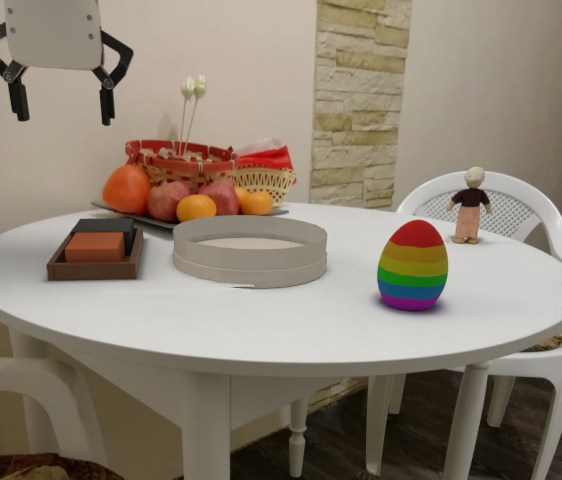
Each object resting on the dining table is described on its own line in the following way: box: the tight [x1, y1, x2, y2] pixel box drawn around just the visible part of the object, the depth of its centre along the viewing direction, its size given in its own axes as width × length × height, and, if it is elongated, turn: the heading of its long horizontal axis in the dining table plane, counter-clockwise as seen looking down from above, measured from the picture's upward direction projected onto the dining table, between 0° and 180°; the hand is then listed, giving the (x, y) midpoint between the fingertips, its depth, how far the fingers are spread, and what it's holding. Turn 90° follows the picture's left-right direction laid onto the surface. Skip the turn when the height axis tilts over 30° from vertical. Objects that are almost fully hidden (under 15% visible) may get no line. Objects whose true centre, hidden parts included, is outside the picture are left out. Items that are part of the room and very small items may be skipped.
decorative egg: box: [376, 219, 449, 312], centre depth 64 cm, size 8×8×10 cm
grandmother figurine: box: [446, 166, 493, 245], centre depth 95 cm, size 8×4×13 cm, turn 97°
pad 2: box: [65, 232, 125, 263], centre depth 73 cm, size 6×9×4 cm
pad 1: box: [70, 218, 135, 256], centre depth 82 cm, size 8×9×4 cm
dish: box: [172, 214, 328, 289], centre depth 78 cm, size 22×22×5 cm
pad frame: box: [45, 226, 145, 282], centre depth 78 cm, size 11×22×3 cm, turn 10°
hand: (65, 123), depth 67 cm, fingers open, 9 cm apart
